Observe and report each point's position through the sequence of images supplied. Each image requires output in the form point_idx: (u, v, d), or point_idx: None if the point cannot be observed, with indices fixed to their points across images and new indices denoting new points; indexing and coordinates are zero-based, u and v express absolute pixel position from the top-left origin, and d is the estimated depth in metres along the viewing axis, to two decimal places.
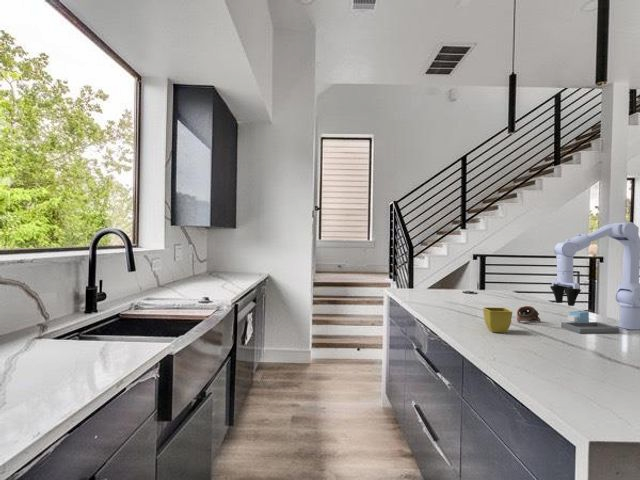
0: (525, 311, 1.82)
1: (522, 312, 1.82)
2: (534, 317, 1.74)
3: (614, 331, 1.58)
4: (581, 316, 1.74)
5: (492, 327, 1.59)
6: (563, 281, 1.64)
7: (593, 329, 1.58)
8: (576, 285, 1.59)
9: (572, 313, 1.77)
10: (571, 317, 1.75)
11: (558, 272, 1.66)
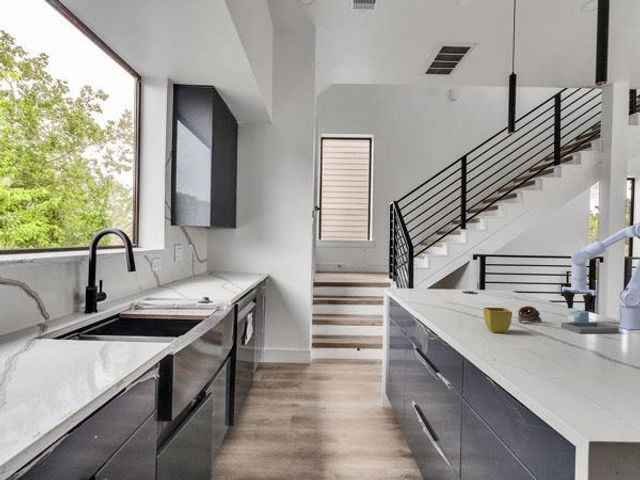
0: (526, 311, 1.82)
1: (523, 312, 1.82)
2: (535, 317, 1.74)
3: (614, 331, 1.58)
4: (581, 316, 1.74)
5: (492, 327, 1.59)
6: (580, 288, 1.74)
7: (593, 329, 1.58)
8: (595, 292, 1.70)
9: (572, 313, 1.77)
10: (571, 317, 1.75)
11: (574, 280, 1.76)
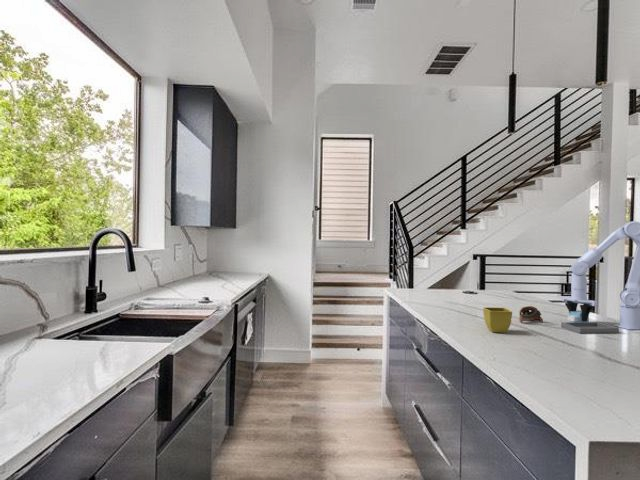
0: (527, 311, 1.82)
1: (524, 312, 1.82)
2: (537, 317, 1.74)
3: (614, 331, 1.58)
4: (581, 316, 1.74)
5: (492, 327, 1.59)
6: (580, 299, 1.74)
7: (593, 329, 1.58)
8: (595, 302, 1.70)
9: (572, 313, 1.77)
10: (571, 317, 1.75)
11: (574, 290, 1.76)
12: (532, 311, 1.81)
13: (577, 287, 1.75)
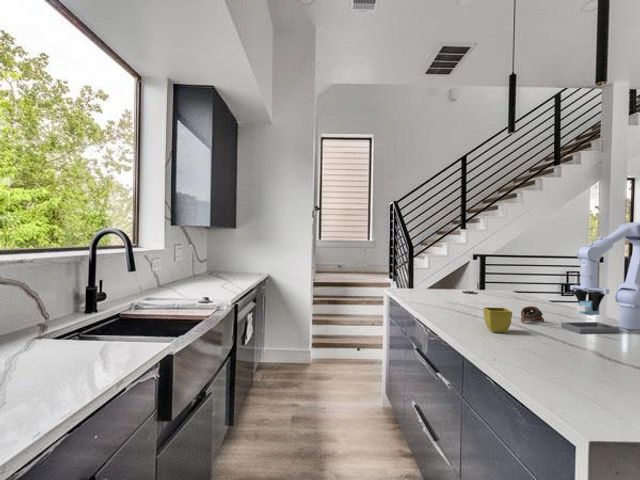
0: (529, 311, 1.82)
1: (526, 312, 1.82)
2: (538, 317, 1.74)
3: (614, 331, 1.58)
4: None
5: (492, 327, 1.59)
6: (590, 286, 1.61)
7: (593, 329, 1.58)
8: (607, 290, 1.57)
9: (582, 303, 1.64)
10: (581, 307, 1.61)
11: (584, 277, 1.63)
12: (533, 311, 1.81)
13: (593, 274, 1.61)
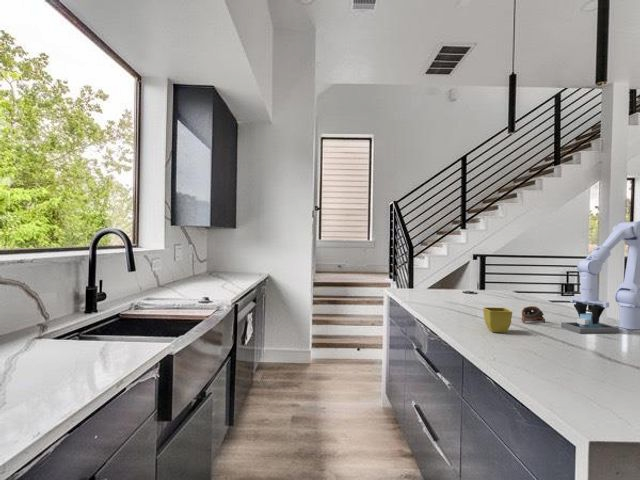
0: (529, 311, 1.82)
1: (526, 312, 1.82)
2: (539, 317, 1.74)
3: (614, 331, 1.58)
4: None
5: (492, 327, 1.59)
6: (590, 299, 1.61)
7: (593, 329, 1.58)
8: (607, 304, 1.57)
9: (582, 316, 1.64)
10: (581, 320, 1.61)
11: (584, 290, 1.63)
12: (534, 311, 1.81)
13: (593, 287, 1.61)
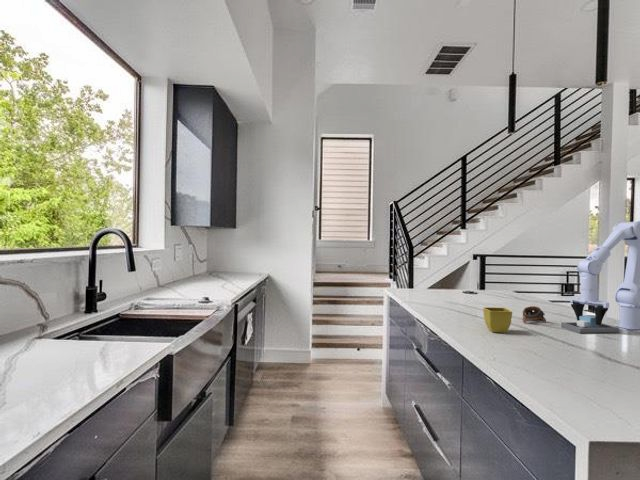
0: (530, 311, 1.82)
1: (527, 312, 1.82)
2: (540, 317, 1.74)
3: (614, 331, 1.58)
4: (591, 321, 1.61)
5: (492, 327, 1.59)
6: (590, 300, 1.61)
7: (593, 329, 1.58)
8: (607, 304, 1.57)
9: (581, 318, 1.64)
10: (581, 322, 1.62)
11: (584, 291, 1.63)
12: (535, 311, 1.81)
13: (593, 288, 1.61)
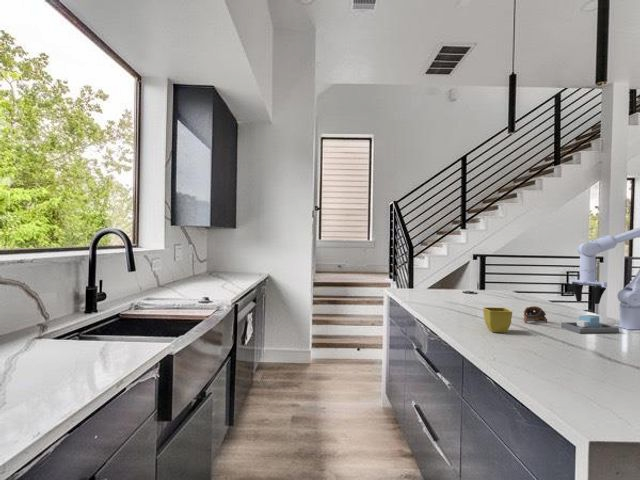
0: (531, 311, 1.82)
1: (528, 312, 1.82)
2: (541, 317, 1.73)
3: (614, 331, 1.58)
4: (591, 321, 1.61)
5: (492, 327, 1.59)
6: (589, 280, 1.70)
7: (593, 329, 1.58)
8: (605, 284, 1.66)
9: (581, 318, 1.64)
10: (581, 322, 1.62)
11: (583, 271, 1.71)
12: (536, 311, 1.81)
13: (588, 268, 1.70)
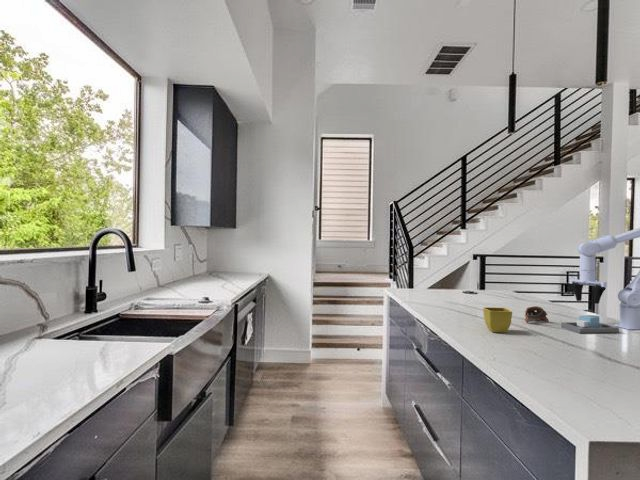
0: (533, 311, 1.81)
1: (530, 312, 1.82)
2: (543, 317, 1.73)
3: (614, 331, 1.58)
4: (591, 321, 1.61)
5: (492, 327, 1.59)
6: (589, 280, 1.70)
7: (593, 329, 1.58)
8: (604, 283, 1.66)
9: (581, 318, 1.64)
10: (581, 322, 1.62)
11: (583, 271, 1.72)
12: (537, 311, 1.81)
13: (587, 268, 1.71)
